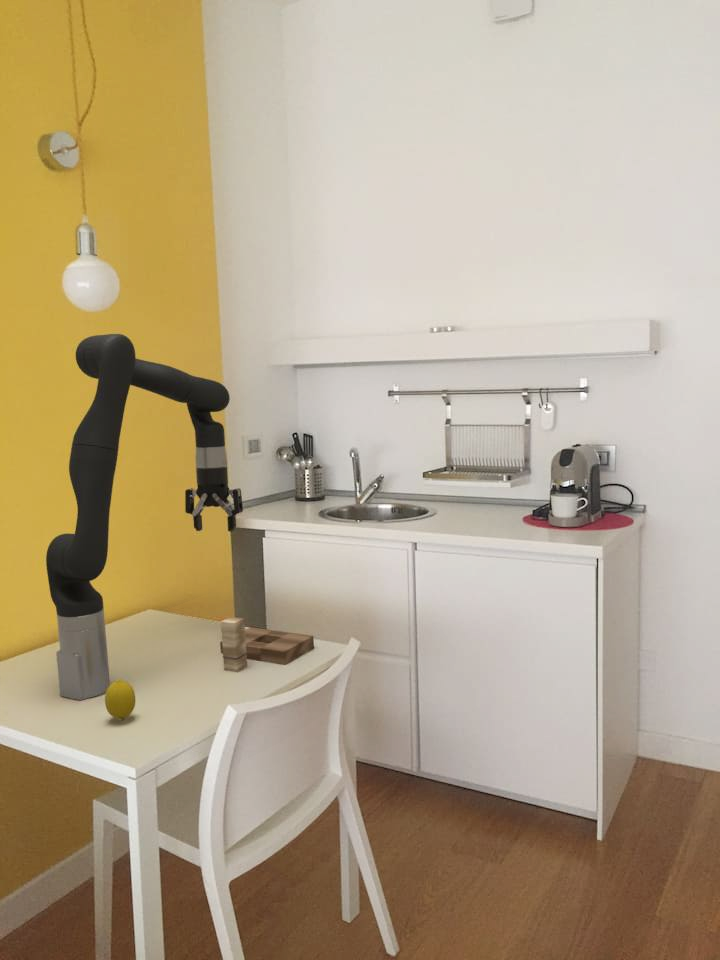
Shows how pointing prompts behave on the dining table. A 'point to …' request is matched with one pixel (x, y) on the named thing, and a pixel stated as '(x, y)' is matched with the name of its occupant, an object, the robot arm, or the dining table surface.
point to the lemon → (120, 699)
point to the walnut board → (275, 645)
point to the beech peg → (234, 644)
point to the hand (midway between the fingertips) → (215, 530)
